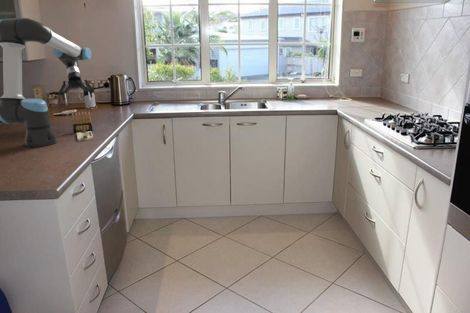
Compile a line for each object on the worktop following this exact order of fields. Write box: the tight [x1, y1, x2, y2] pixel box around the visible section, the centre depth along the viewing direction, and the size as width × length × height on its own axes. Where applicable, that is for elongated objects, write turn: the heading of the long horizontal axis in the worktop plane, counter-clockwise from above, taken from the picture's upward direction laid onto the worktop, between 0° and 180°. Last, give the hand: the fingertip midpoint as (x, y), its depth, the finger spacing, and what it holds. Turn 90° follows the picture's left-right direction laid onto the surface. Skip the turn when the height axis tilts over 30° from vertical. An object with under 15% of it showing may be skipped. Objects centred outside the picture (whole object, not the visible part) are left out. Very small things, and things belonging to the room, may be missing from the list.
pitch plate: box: [76, 130, 95, 142], centre depth 215 cm, size 8×17×2 cm, turn 24°
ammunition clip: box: [71, 111, 94, 134], centre depth 228 cm, size 11×2×12 cm, turn 109°
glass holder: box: [77, 89, 97, 108], centre depth 314 cm, size 9×14×15 cm, turn 77°
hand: (78, 102), depth 234 cm, fingers open, 13 cm apart
